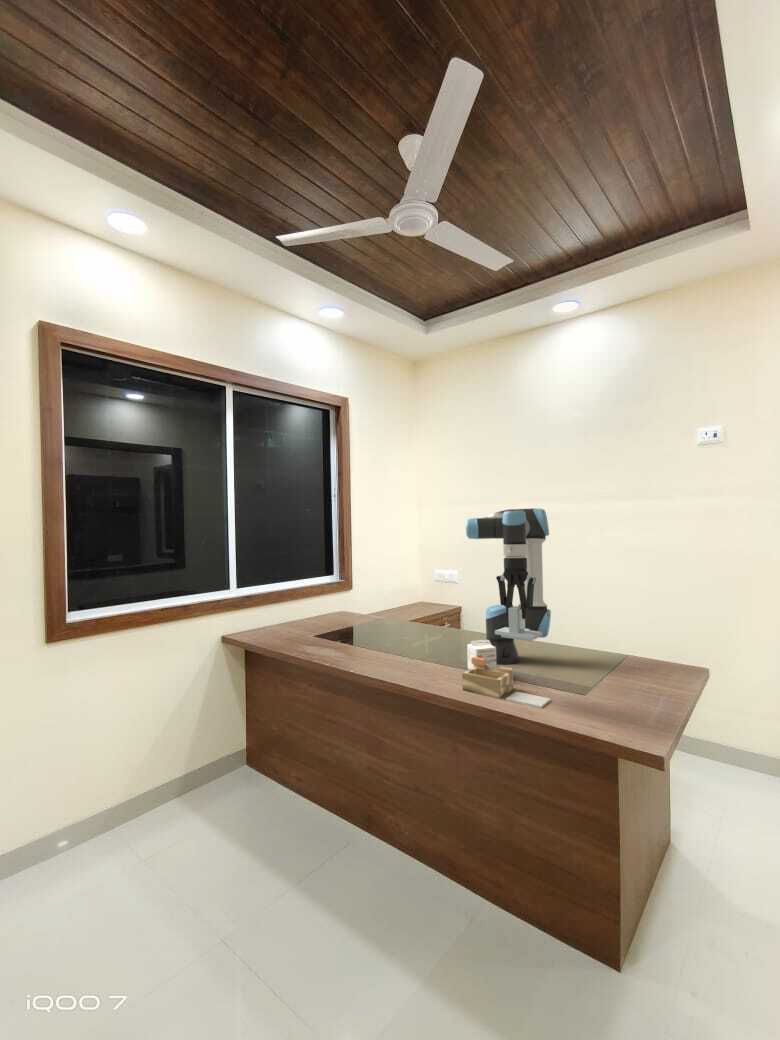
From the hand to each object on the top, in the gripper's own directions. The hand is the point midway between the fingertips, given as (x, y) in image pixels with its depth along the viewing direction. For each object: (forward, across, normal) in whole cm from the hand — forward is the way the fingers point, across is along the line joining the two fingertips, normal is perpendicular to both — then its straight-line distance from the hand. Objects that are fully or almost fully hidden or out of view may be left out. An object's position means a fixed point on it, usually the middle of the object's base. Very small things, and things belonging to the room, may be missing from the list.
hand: (517, 627), depth 158 cm
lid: (+4, 0, +2) cm, 4 cm away
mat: (+24, +2, +2) cm, 24 cm away
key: (+17, -18, +6) cm, 25 cm away
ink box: (+24, -22, +15) cm, 36 cm away
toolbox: (+24, -13, +3) cm, 27 cm away
